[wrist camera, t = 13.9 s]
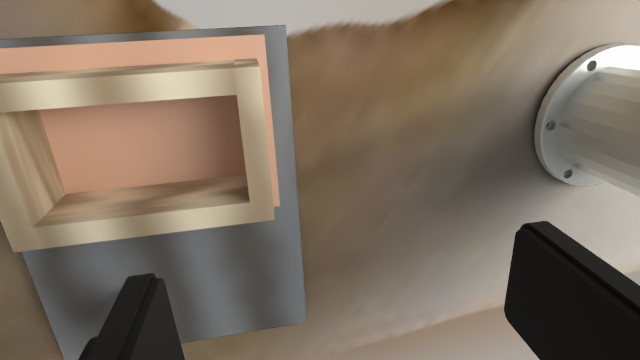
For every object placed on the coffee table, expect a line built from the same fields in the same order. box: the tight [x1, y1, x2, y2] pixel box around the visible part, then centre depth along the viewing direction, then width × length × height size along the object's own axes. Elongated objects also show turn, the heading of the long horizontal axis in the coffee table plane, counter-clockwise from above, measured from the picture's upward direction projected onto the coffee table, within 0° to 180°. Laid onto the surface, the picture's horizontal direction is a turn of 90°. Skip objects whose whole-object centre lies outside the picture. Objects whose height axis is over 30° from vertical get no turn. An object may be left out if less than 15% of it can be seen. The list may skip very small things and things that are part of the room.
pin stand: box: [0, 25, 307, 360], centre depth 24 cm, size 21×26×16 cm
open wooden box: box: [0, 58, 275, 252], centre depth 26 cm, size 16×10×5 cm, turn 93°
